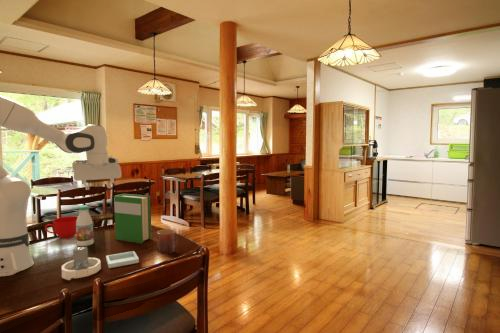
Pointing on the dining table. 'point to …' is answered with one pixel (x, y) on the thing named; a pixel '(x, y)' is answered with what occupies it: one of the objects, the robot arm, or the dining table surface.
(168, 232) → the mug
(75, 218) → the ceramic cup
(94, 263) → the bowl
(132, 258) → the parts tray
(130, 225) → the hardback book
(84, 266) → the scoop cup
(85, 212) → the milk bottle
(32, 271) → the dining table surface
